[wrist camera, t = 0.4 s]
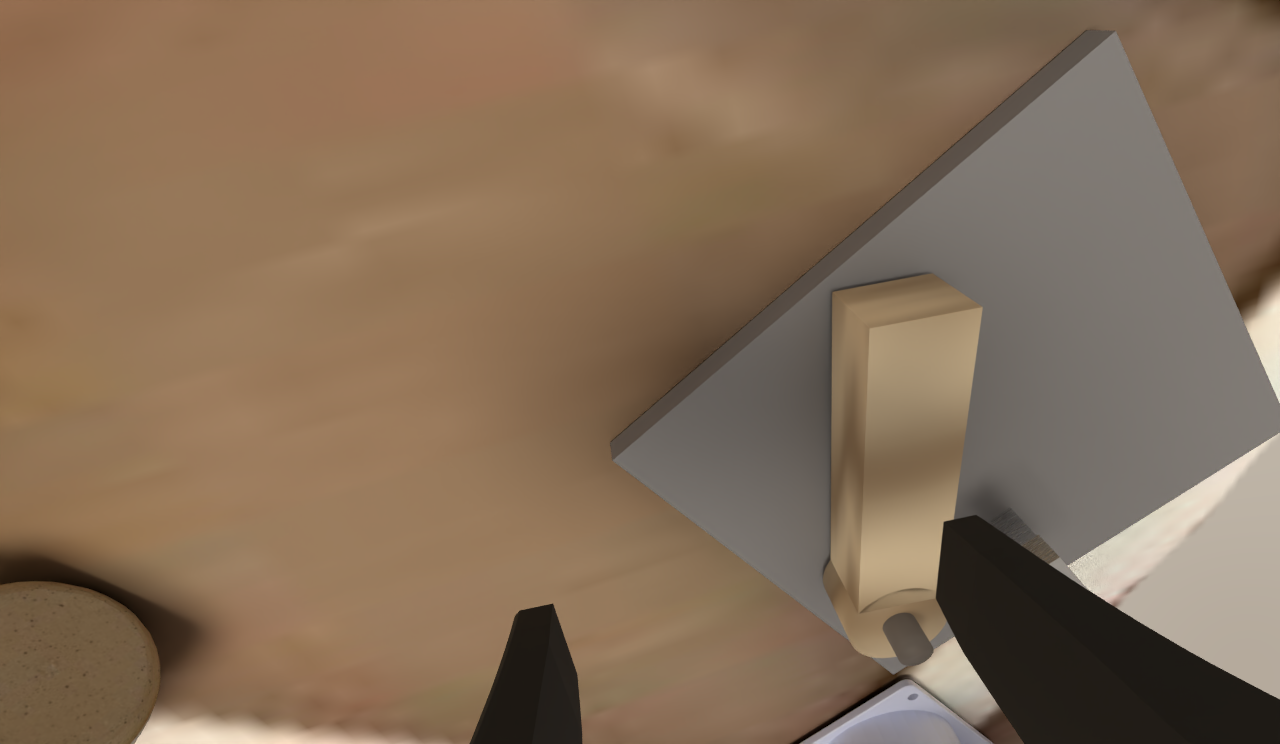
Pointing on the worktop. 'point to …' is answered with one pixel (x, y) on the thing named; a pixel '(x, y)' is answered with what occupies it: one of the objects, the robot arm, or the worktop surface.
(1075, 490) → the slate board
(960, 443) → the oak link
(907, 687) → the robot arm
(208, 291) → the worktop surface
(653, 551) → the worktop surface
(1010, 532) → the steel keeper
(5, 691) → the ceramic mug
